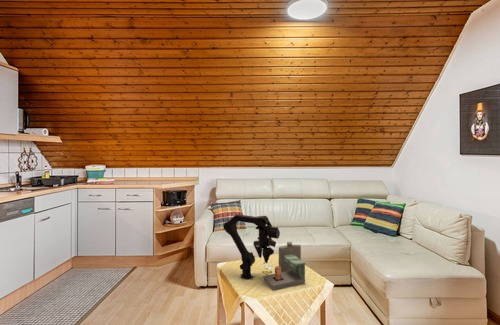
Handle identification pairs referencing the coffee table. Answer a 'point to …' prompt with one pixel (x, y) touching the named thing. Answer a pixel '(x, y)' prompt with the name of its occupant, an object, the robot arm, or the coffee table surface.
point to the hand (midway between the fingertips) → (263, 260)
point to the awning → (296, 265)
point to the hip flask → (288, 251)
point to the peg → (277, 273)
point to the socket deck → (283, 280)
